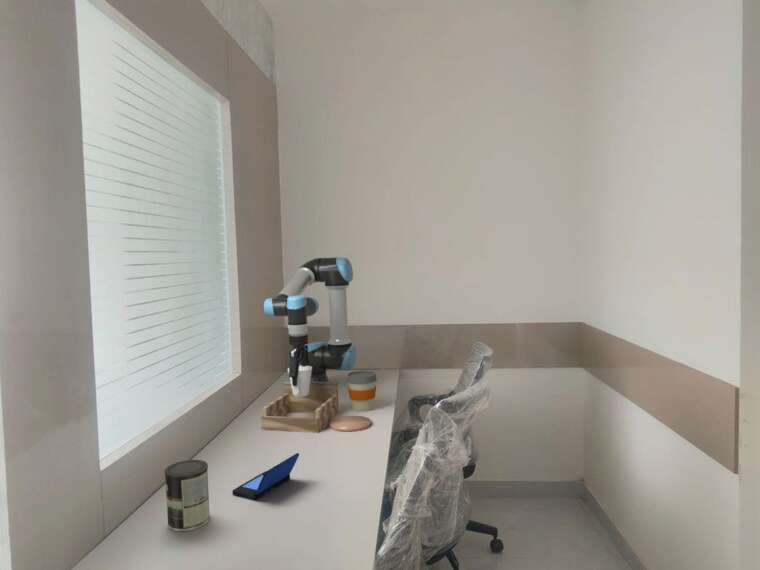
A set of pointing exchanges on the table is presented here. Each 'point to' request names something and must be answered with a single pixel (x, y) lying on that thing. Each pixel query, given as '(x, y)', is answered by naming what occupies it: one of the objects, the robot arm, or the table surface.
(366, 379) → the reusable coffee cup
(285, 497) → the table surface
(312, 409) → the frame
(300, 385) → the cup
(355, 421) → the saucer
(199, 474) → the coffee can
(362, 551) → the table surface
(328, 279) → the robot arm
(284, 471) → the handheld game console
